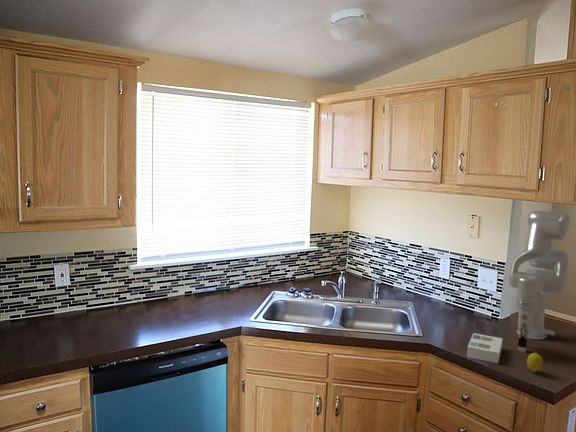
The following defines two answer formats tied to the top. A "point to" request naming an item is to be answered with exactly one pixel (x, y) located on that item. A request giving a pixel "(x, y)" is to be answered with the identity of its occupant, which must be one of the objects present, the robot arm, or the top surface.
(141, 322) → the top surface
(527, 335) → the light wood cylinder
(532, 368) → the lemon
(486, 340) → the socket block
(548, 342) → the top surface
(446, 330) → the top surface
